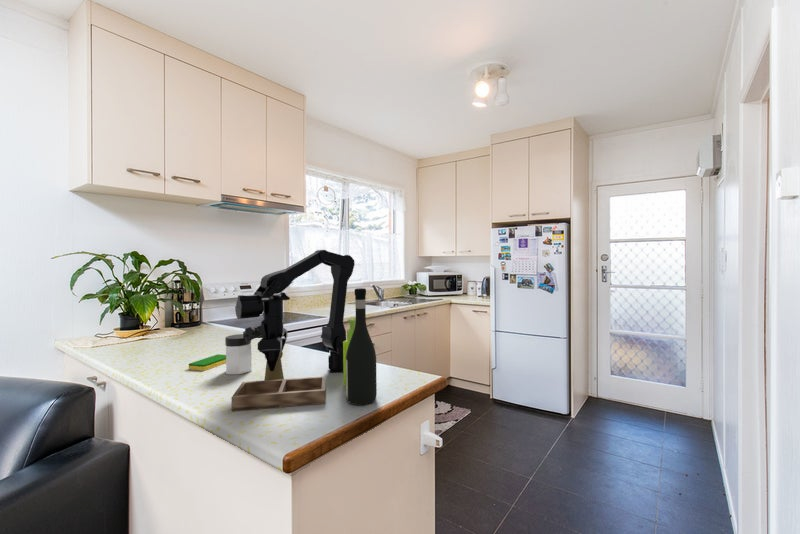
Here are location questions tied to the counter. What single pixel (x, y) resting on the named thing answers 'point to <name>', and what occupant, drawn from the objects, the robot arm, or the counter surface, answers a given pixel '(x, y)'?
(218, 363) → the dish sponge
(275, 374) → the cork
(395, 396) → the counter surface
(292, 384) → the holder
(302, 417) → the counter surface
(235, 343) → the jar
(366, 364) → the wine bottle
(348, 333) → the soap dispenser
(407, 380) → the counter surface
